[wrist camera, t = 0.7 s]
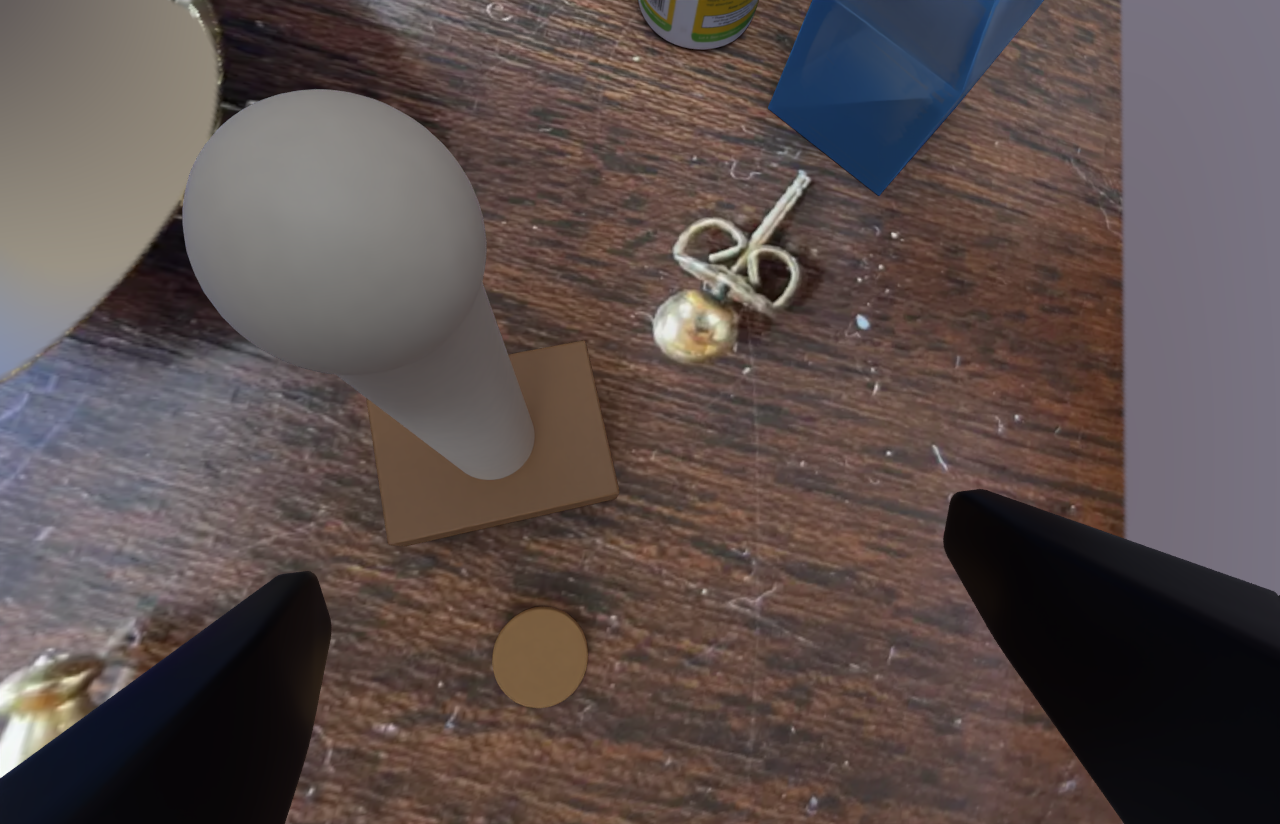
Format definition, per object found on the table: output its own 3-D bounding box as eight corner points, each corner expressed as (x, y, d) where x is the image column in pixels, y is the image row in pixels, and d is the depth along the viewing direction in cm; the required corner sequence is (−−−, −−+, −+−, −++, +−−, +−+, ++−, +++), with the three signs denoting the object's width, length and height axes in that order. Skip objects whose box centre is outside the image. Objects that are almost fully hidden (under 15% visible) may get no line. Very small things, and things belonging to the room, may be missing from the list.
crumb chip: (604, 671, 23) (605, 674, 22) (522, 722, 22) (520, 728, 21) (560, 588, 23) (559, 589, 22) (478, 637, 22) (475, 640, 22)
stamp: (615, 501, 24) (707, 339, 6) (412, 547, 23) (-132, 504, 5) (584, 364, 25) (592, -93, 8) (389, 403, 24) (-127, -22, 7)
